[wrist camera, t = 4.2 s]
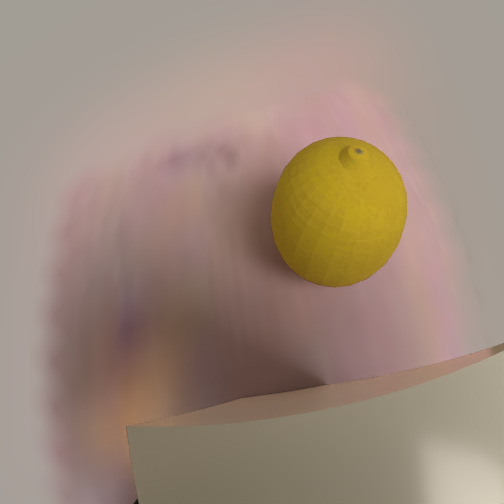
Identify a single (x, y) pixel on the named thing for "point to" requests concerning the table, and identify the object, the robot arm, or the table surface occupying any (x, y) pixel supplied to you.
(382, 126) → the table surface
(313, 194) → the lemon
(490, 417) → the clay bar
